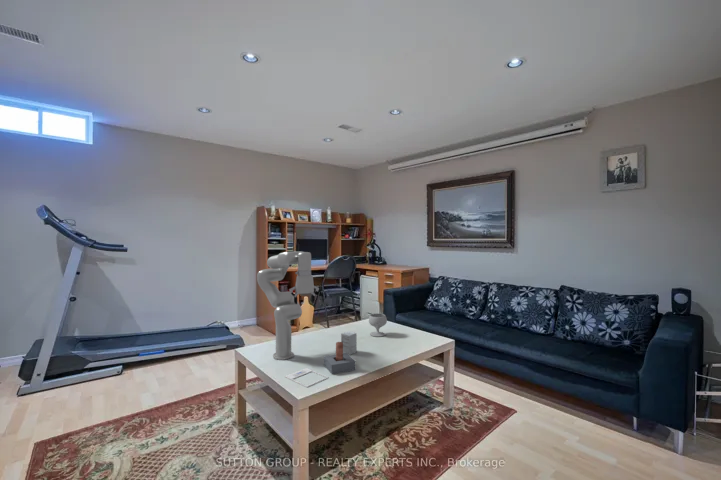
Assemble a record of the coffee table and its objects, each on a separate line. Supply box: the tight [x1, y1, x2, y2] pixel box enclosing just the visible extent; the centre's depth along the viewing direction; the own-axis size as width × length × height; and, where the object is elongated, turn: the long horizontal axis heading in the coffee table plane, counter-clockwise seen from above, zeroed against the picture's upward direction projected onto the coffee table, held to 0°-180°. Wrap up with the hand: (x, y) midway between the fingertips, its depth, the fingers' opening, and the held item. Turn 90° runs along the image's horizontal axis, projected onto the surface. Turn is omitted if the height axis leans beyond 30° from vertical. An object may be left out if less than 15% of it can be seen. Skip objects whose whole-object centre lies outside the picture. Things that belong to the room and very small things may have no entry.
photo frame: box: [284, 367, 329, 388], centre depth 167 cm, size 15×1×18 cm
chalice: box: [368, 313, 388, 338], centre depth 243 cm, size 14×14×15 cm
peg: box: [335, 341, 343, 361], centre depth 180 cm, size 4×4×14 cm
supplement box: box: [340, 330, 358, 356], centre depth 204 cm, size 7×7×13 cm
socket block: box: [323, 353, 356, 375], centre depth 180 cm, size 14×14×5 cm
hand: (304, 303), depth 182 cm, fingers open, 9 cm apart
